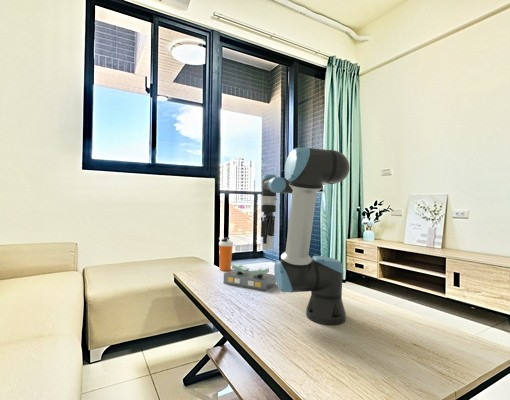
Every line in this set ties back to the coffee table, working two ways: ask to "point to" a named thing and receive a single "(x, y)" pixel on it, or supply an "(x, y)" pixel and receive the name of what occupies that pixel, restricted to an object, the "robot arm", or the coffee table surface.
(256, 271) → the switch
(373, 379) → the coffee table surface
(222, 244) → the shaker bottle
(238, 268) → the switch
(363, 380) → the coffee table surface
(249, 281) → the console
